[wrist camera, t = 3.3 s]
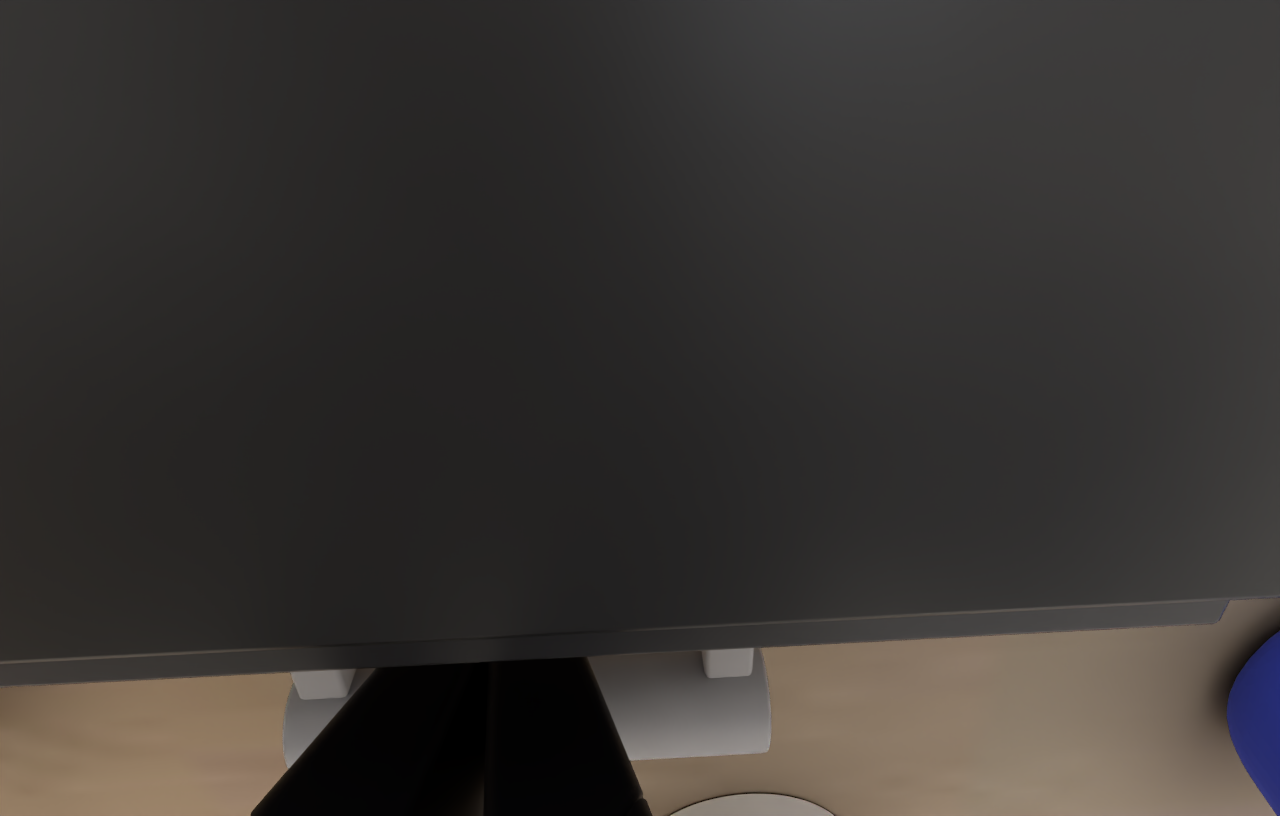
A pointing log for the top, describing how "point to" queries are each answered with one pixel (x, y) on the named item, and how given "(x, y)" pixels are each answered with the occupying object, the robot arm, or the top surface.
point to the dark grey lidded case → (628, 315)
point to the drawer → (608, 669)
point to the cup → (754, 806)
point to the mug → (1259, 719)
